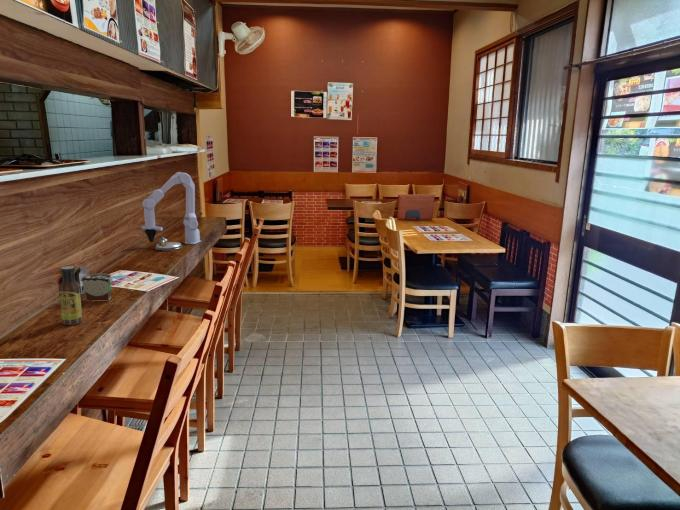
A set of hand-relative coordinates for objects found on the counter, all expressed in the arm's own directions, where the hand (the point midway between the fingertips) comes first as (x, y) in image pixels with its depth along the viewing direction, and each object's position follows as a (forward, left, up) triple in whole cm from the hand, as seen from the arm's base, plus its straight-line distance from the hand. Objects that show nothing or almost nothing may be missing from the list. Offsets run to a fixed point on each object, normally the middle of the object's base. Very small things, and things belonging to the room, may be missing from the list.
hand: (151, 241), depth 284 cm
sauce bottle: (+117, +41, -4) cm, 124 cm away
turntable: (0, +11, -2) cm, 11 cm away
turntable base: (0, +11, -3) cm, 11 cm away
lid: (0, +7, -1) cm, 8 cm away
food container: (+92, +34, -4) cm, 98 cm away
